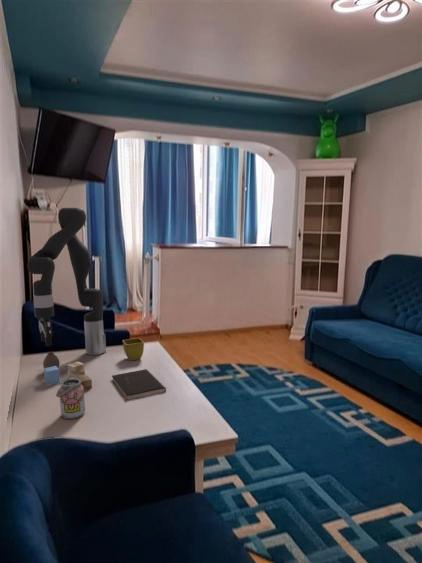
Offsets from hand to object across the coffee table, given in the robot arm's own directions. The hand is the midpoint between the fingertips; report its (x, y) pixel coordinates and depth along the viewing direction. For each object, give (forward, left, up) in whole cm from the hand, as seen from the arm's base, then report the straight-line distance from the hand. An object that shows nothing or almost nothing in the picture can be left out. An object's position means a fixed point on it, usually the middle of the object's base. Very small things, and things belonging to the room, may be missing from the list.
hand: (46, 343), depth 175 cm
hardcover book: (-29, +26, -18) cm, 43 cm away
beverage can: (+1, +36, -17) cm, 40 cm away
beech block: (-11, +2, -17) cm, 20 cm away
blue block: (-1, +1, -17) cm, 17 cm away
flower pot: (-41, -5, -17) cm, 45 cm away
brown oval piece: (-4, -12, -17) cm, 22 cm away
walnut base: (-9, +14, -17) cm, 24 cm away
